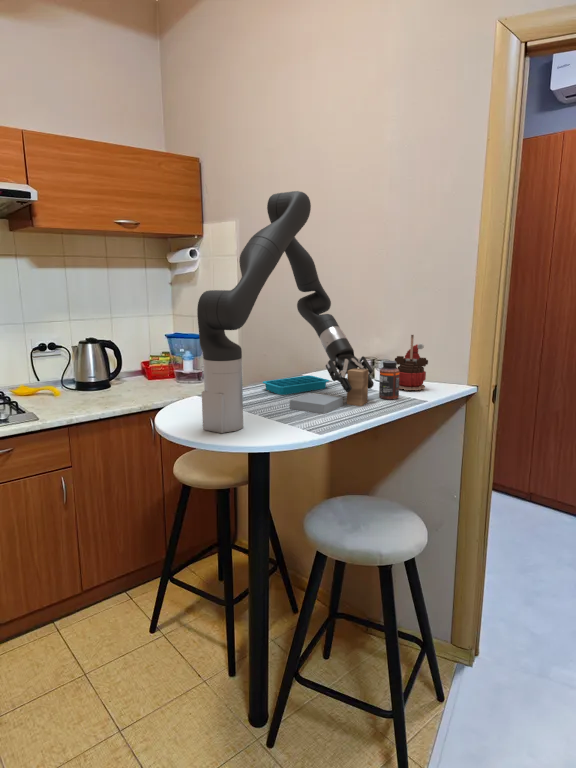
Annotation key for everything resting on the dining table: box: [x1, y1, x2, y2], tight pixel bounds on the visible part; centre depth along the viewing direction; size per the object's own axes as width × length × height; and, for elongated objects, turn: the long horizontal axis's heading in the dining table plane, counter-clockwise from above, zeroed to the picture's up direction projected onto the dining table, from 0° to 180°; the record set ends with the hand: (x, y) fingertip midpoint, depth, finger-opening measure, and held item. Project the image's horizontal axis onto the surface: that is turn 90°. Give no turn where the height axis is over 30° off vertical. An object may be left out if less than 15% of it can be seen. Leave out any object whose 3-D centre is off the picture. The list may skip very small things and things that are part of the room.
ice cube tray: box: [262, 375, 330, 396], centre depth 171 cm, size 12×20×3 cm, turn 125°
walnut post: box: [346, 368, 369, 407], centre depth 150 cm, size 4×4×10 cm
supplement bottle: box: [378, 360, 400, 400], centre depth 157 cm, size 6×6×11 cm
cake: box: [394, 334, 429, 391], centre depth 169 cm, size 11×9×18 cm
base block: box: [289, 392, 344, 415], centre depth 147 cm, size 11×11×3 cm
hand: (360, 388), depth 149 cm, fingers open, 8 cm apart
